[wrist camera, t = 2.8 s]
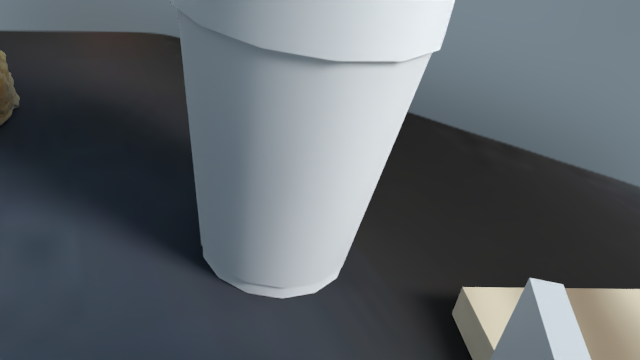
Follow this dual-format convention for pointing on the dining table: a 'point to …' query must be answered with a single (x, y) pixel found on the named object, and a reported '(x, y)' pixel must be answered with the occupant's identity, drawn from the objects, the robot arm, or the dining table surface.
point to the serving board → (589, 309)
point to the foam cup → (296, 126)
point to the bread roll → (6, 91)
